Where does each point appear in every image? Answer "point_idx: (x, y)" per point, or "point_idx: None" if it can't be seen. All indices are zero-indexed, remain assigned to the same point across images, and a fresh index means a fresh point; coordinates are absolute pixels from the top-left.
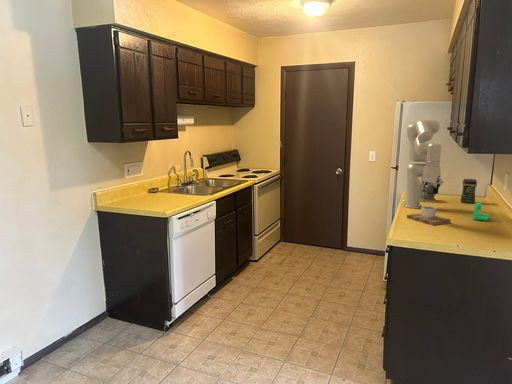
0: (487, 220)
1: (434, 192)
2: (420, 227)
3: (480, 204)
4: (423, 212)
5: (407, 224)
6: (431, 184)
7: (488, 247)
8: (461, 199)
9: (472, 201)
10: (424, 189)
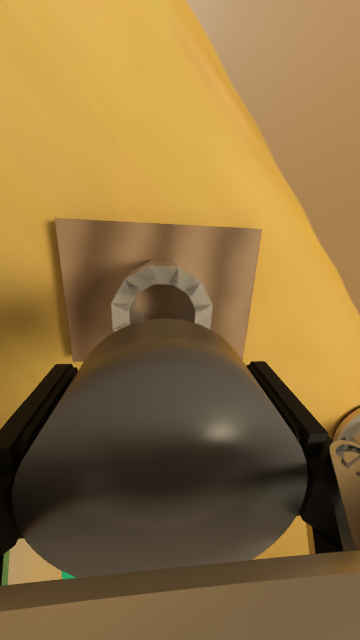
0: None
1: (49, 377)
2: (39, 92)
3: (65, 576)
4: (164, 263)
5: (134, 75)
6: None
7: None
8: None
9: None
10: (262, 383)
